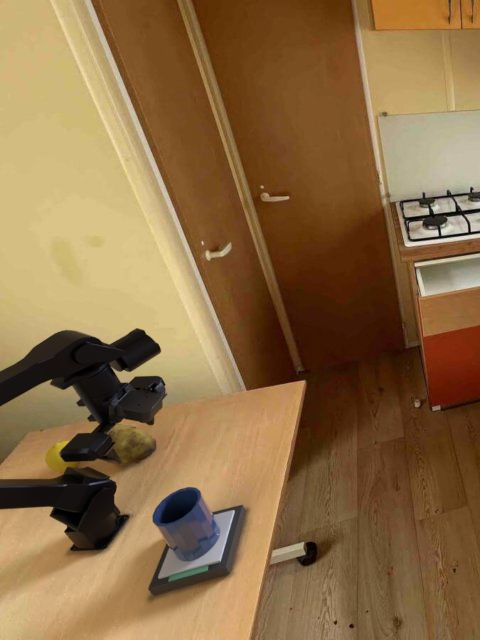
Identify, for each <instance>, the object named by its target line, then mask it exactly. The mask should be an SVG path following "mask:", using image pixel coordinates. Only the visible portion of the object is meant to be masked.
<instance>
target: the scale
mask: <svg viewBox="0 0 480 640" xmlns="http://www.w3.org/2000/svg"><path fill="white" fill-rule="evenodd" d="M211 512H212V513H213V515H214V517H215V519H216V521H217V523H218V525H219V527H220V535H219V538H218V540H217V542H216V543H215V545H214V546H213V547H212V548H211V549H210V550H209V551H208V552H207V553H206V554H205V555H203V556H201V557H200V558H198V559H196V560H193V561H188V562H184V561H180V560H179V559H178V558H177V557H176V556H175V555H174V553H173V552H172V550H171V549H170V547H169V546H168V544H167V543H166V542H165V543H166V544H165V546H164V548H163V551H162V554H161V556H160V558H159V561H158V563H157V566H156V568H155V571H154V573H153V575H152V578H151V580H150V584H149V585H148V588H147V590H148V591H149V592H150V594H152V595H151V596H153V597H154V596H157V595H158V596H159V595H161V594H162V595H163V594H165V593H168V592H172V591H175V590H179V589H182V588H186V587H189V586H192V585H196V584H200V583H203V582H207V581H211V580H214V579H217V578H221V577H224V576H228V575H230V574H231V572H232V567H233V564H234V560H235V557H236V552H237V549H238V545H239V542H240V541H239V540H240V538H241V537H240V536H241V533H242V529H243V526H244V523H245V522H244V521H245V519H246V514H247V510H246V508H245V505H244V504H238V505H234V506H232V507H228V508H224V509H218V510H215V511H211Z"/></svg>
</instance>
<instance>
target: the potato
mask: <svg viewBox="0 0 480 640" xmlns="http://www.w3.org/2000/svg"><path fill="white" fill-rule="evenodd" d="M108 435H110V436H111V438H112V442H116V444H115V445H114V446H113V448H114V450H115V451H116V453H117V454H118V456H119V457H120V459H121V462H122V463H121V464H120V465H130V464H134V463H138V462H140V461H142V460H145V459H148V457H151V456H152V455H153V453H155V451H156V450H157V440H156V438H154V437H153V436H152V435H150V434H149V433H147V432H145V431H143V430H142V429H140V428H138V427H136V426H134V425H129V424H125V425H123V424H121V423H118V424H117V425H116V426H115V427H114V428H113V429H112V430H111V431H110V432H109V433H108Z"/></svg>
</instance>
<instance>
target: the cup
mask: <svg viewBox="0 0 480 640" xmlns="http://www.w3.org/2000/svg"><path fill="white" fill-rule="evenodd" d="M212 512H213V511H212V509H211V507H210V506H209V504H208V503H207V501H206V499H205V497H204V495H203V493H202V491H201V490H200V489H199V488H197V487H193V486H187V487H183V488H180V489H177V490H175V491H172V492H171V493H170V494H168V495H167V496H166V497H164V498H163V499H162V500H161V501H160V502H159V503H158V505H157V506H156V507H155V508H154V511H153V513H152V515H151V517H152V523H153V525H154V526H155V527H156V529H157V531H158V532H159V534H160V535H161V537H162V538H163V540H164V541H165V543H167V544H168V546H169V547H170V549H171V550H172V552H173V553H174V555H175V556H176V557H177V558H178V559H179V560H180V561H184V562H188V561H193V560H196V559H198V558H200V557H201V556H203V555H205V554H206V553H207V552H208V551H209V550H210V549H211V548H212V547H213V546H214V545H215V543H216V542H217V540H218V538H219V535H220V527H219V525H218V523H217V521H216V519H215V517H214V515H213V513H212Z"/></svg>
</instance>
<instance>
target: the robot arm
mask: <svg viewBox="0 0 480 640" xmlns="http://www.w3.org/2000/svg"><path fill="white" fill-rule="evenodd" d="M161 353H162V348H161V345H160V344H159V343H158V342H156V341H155V340H154V338H153V337H151V336H150V335H149V334H147V332H146V330H145V329H142V328H138V327H135V328H134V329H132V330H131V331H129V332H128V333H127V334H125V335H123V336H122V337H120V338H118V339H117V340H115V341H112V342H111V343H107V342H104V341H102V340H101V339H100V338H98V337H96V336H93V335H90V334H87V333H84V332H81V331H78V330H73V329H64V330H60V331H57V332H54V333H53V334H52V335H50V336H48V337H47V338H45V339H43V341H41V342H40V343H38V344H36V345H34V346H33V347H32V348H31V349H30V351H28V353H27V354H26V355H24V357H23V358H21V359H20V360H18V361H17V362H15V363H14V364H12V365H10V366H8V367H5V368H4V369H2V370H0V407H2V406H4V405H6V404H8V403H9V402H11V401H13V400H15V399H16V398H18V397H20V396H22V395H25V393H27V392H29V391H30V390H32V389H35V388H36V387H38V386H40V385H42V384H44V383H47V382H49V381H50V382H49V385H50V386H52V387H54V388H57V389H59V390H62V391H64V390H67V389H69V388H71V387H72V389H73V390H74V391H75V393H76V394H77V396H78V398H79V399H78V400H77V401H76V402H75V404H76V405H77V407H79V408H81V407H83V408H84V407H86V409H87V410H88V411H89V413H90V415H88V416H87V418H86V419H87V421H88V422H89V423H92V422H93V423H95V422H96V423H97V424H98V425H97V426H96V427H95V428H94V429H93V430H92V431H91V432H78V433H76V434H75V436H74V437H72V438H71V440H69V441H70V442H69V443H68V444H67V445H66V446H65V447H63V448H62V450H61V451H60V452H59V454H60V457H61V458H62V459H63V461H64V462H80V463H81V462H95V461H97V460H100V461H104V462H107V463H109V464H113V465H122V464H121V463H122V462H121V459H120V457H119V456H118V454H117V453H116V451H115V450H114V448H113V446H114V445H115V444H116V442H112V438H111V436H110V435H108V433H109V432H110V431H111V430H112V429H113V428H114V427H115V426H116V425H117V424H121V422H123V420H127V421H133V422H138V423H141V424H146V425H147V426H154V425H155V416H156V415H157V414H158V413H159V412H160V411H161V410H162V409H163V406H164V405H163V402H164V400H165V398H166V397H167V396H168V392H166V391H167V390H166V387H165V386H166V385H167V384H166V383H165V381H164V379H163V377H161V376H159V375H137V376H134V377H133V378H132V379H131V380H130V381H129V382H128V381H127V382H122V381H120V380H121V379H119V377H118V375H117V374H116V372H118V373H121V372H123V371H125V372H127V373H132V372H133V371H135V370H137V368H140V367H141V366H142V365H144V364H146V363H147V362H149V361H150V360H152V359H154V358H155V357H157V356H159V355H160V354H161ZM115 371H116V372H115ZM117 489H118V485H117V482H116V481H115V480H113V479H111V476H110V475H109V474H108V475H107V474H106V473H103V472H102V471H99V470H97V469H95V468H92V467H91V466H89V465H86V466H84V467H75V468H73V467H67V468H66V470H65V472H63V474H60V475H58V476H56V477H52V478H0V510H1V511H2V510H17V509H35V508H52V510H51V511H50V513H49V517H50V518H52V519H54V520H55V521H57V522H59V523H61V524H63V525H65V526H66V528H65V529H64V531H63V533H64V534H65V535H66V536H67V537H68V539H69V540H70V541H71V542H72V543H73V544H72V545H71V547H70V548H69V551H70V552H72V553H73V552H90V551H91V552H92V551H93V552H94V551H105V550H106V549H107V548H108V547H109V546H110V544H111V543H112V541H113V540H114V539H115V538H116V536H117V534H118V533H119V532H120V530H121V529H122V528H123V527H124V526H125V524H126V523H127V521H128V520H129V518H130V515H129V514H122V512H121V510H120V508H119V507H118V506H117V505H116V503H115V495H116V493H117Z"/></svg>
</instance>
